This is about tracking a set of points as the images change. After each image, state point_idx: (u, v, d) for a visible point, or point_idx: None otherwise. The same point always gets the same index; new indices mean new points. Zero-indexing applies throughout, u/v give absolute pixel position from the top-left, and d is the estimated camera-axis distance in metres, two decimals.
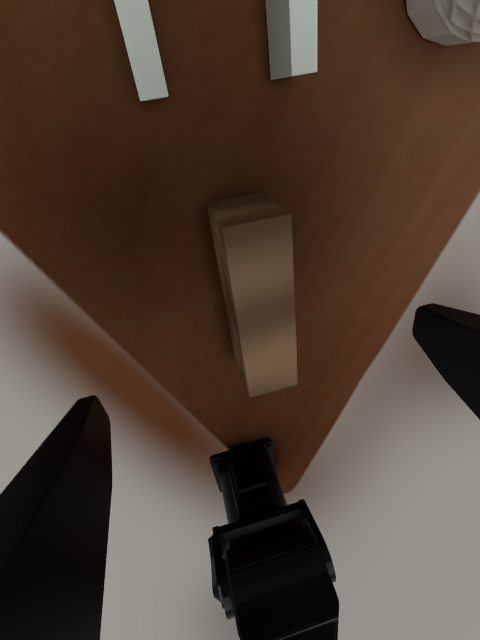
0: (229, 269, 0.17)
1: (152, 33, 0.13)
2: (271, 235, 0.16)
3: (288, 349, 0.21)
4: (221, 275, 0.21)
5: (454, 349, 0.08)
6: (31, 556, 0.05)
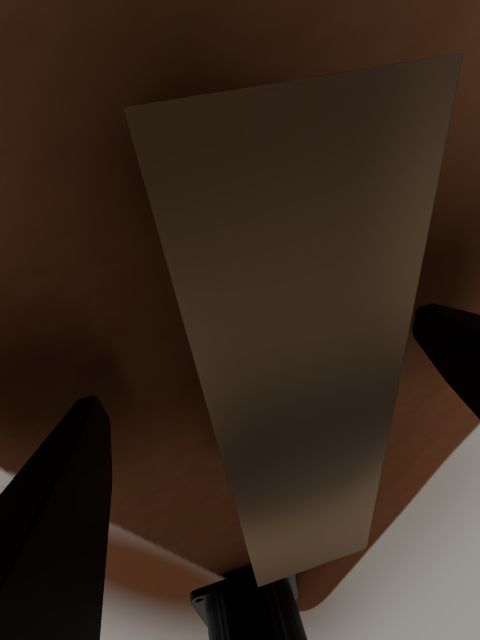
0: (183, 309, 0.04)
1: None
2: (358, 163, 0.04)
3: (359, 496, 0.08)
4: None
5: (454, 349, 0.08)
6: (31, 556, 0.05)
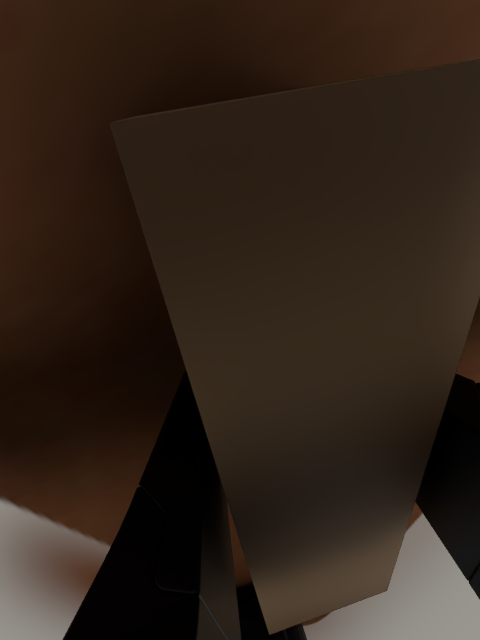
0: (189, 366, 0.03)
1: None
2: (413, 188, 0.03)
3: (383, 543, 0.07)
4: None
5: None
6: (206, 500, 0.05)
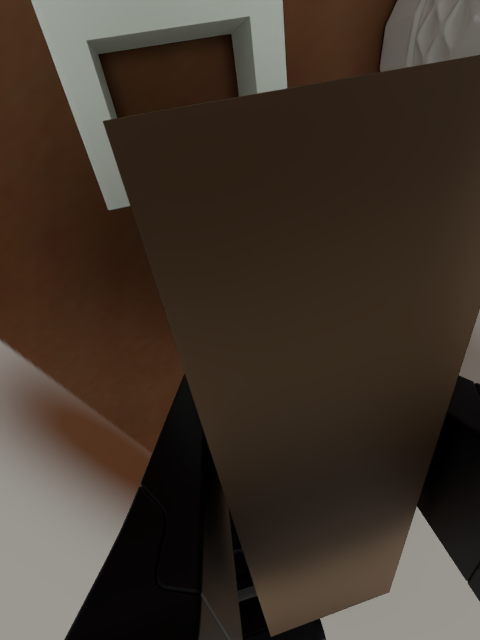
0: (188, 369, 0.03)
1: None
2: (416, 186, 0.03)
3: (385, 545, 0.07)
4: None
5: None
6: (207, 499, 0.05)
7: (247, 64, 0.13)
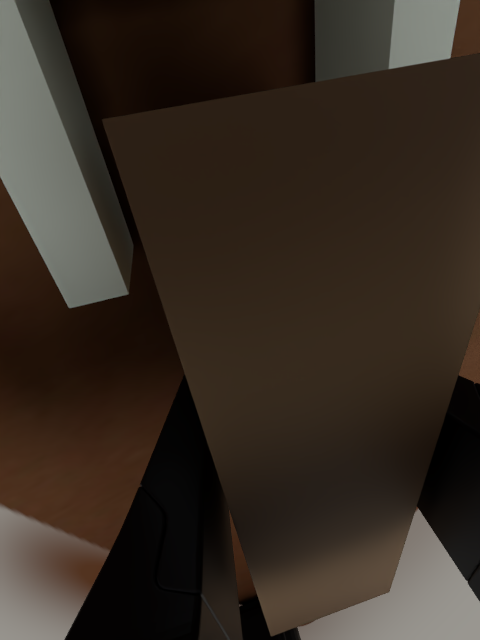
0: (187, 368, 0.03)
1: (83, 192, 0.06)
2: (416, 185, 0.03)
3: (386, 545, 0.07)
4: None
5: None
6: (207, 499, 0.05)
7: (364, 5, 0.06)
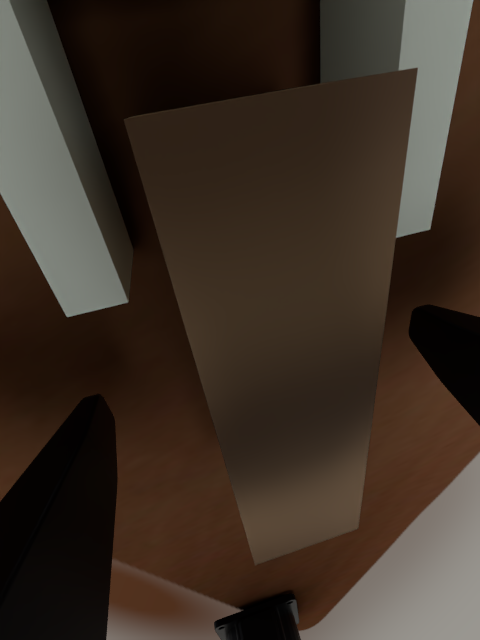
0: (178, 295, 0.05)
1: (81, 198, 0.05)
2: (329, 163, 0.04)
3: (348, 475, 0.09)
4: None
5: (450, 350, 0.08)
6: (39, 553, 0.05)
7: (372, 4, 0.06)
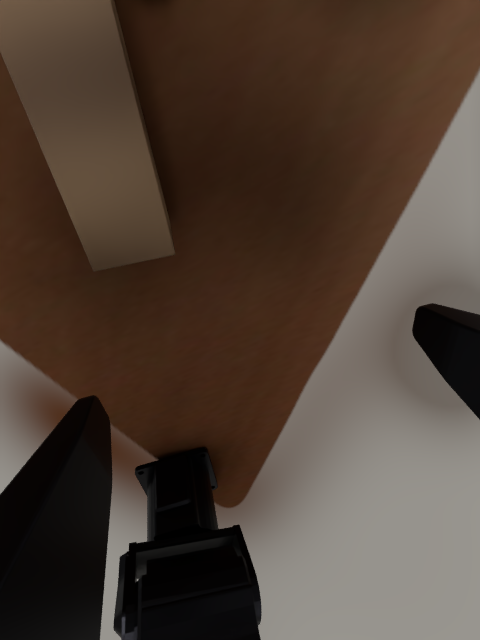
0: None
1: None
2: None
3: (140, 173, 0.12)
4: None
5: (454, 349, 0.08)
6: (31, 556, 0.05)
7: None
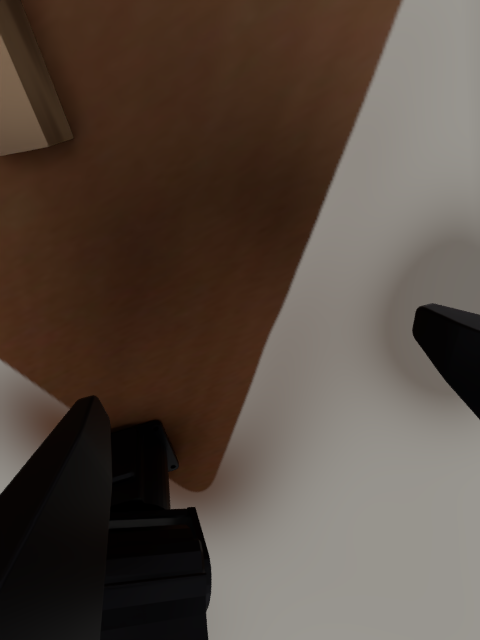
0: None
1: None
2: None
3: None
4: None
5: (454, 349, 0.08)
6: (31, 556, 0.05)
7: None
